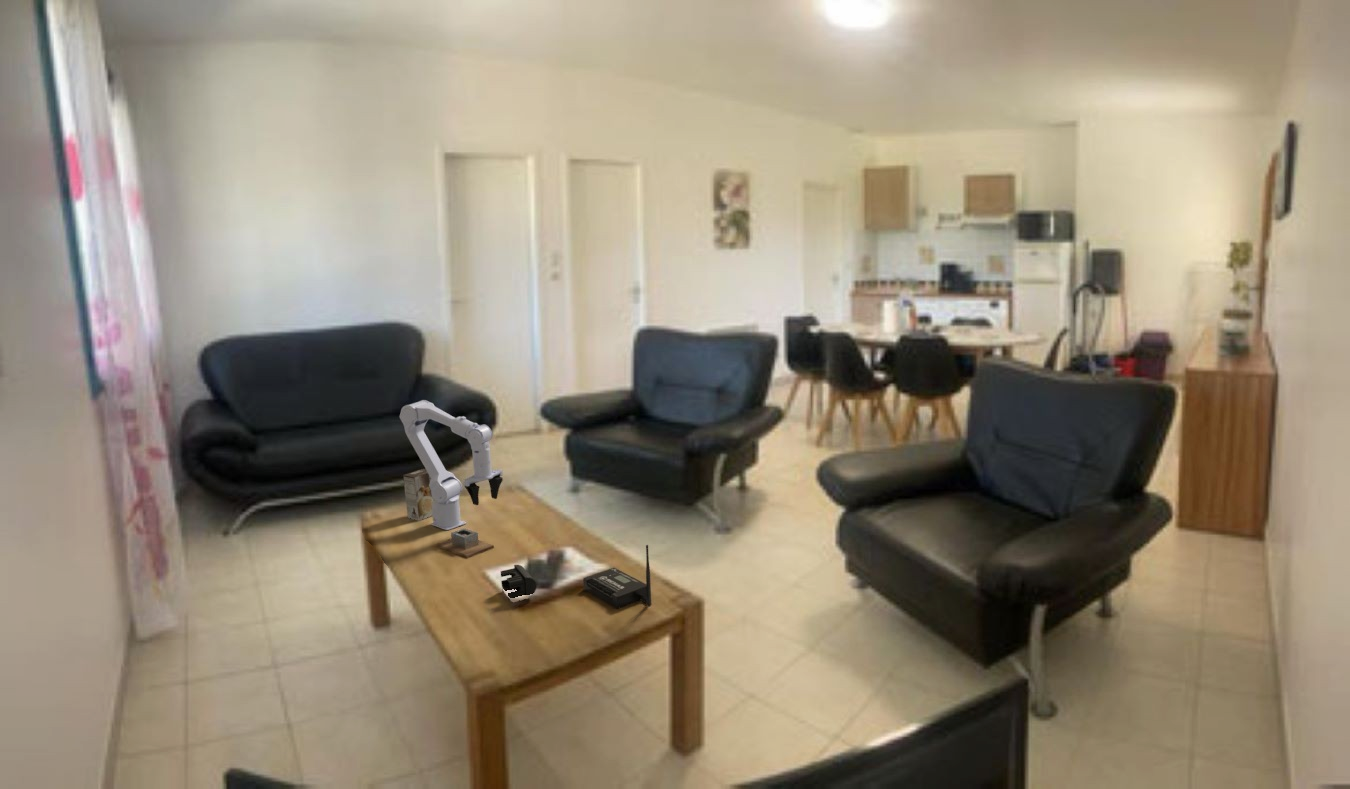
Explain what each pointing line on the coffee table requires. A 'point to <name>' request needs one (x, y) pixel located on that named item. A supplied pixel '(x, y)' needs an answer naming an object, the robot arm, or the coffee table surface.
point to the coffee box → (418, 494)
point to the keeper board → (468, 552)
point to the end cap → (518, 582)
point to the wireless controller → (619, 587)
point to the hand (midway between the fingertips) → (485, 501)
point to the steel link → (464, 538)
